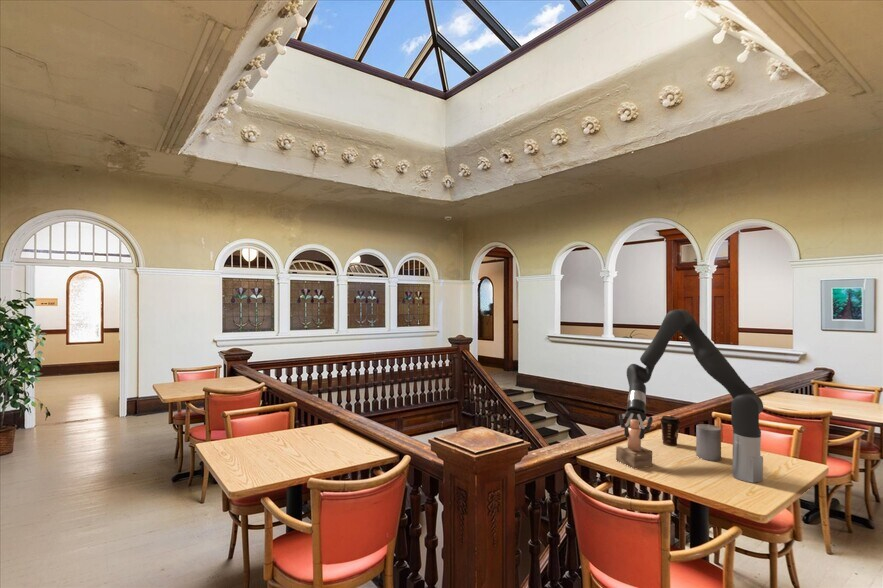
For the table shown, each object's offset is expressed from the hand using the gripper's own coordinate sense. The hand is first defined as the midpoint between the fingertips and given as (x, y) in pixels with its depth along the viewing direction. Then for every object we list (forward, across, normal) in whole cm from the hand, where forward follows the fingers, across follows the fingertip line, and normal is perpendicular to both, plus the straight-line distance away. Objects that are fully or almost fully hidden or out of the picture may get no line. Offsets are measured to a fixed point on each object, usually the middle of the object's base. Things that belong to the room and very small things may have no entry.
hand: (634, 437), depth 194 cm
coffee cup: (-20, +14, +37) cm, 44 cm away
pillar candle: (-11, +29, +28) cm, 41 cm away
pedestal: (+7, 0, +9) cm, 12 cm away
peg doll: (+2, 0, +5) cm, 6 cm away
